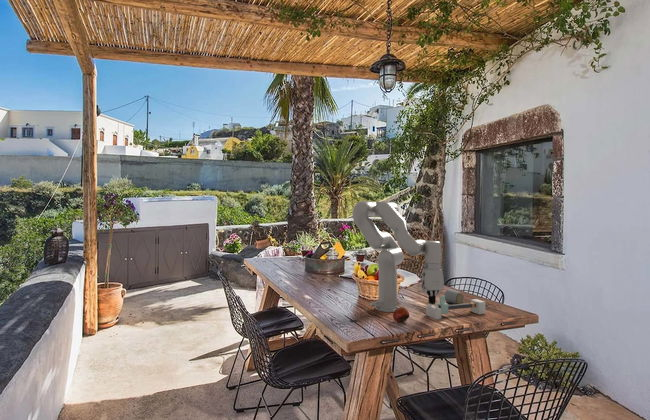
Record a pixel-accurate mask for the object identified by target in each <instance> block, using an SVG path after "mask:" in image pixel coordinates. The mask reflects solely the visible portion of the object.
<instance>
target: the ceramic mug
mask: <svg viewBox="0 0 650 420" xmlns="http://www.w3.org/2000/svg"><path fill="white" fill-rule="evenodd" d="M444 296H445V303H448V304H449V303H450V304H452V305H454V304H463V303H464V301H465V300H464V298H465V297H464V294H463V292H461V291H459V290H455V289H453V288H447V289H446V290H445V292H444Z"/></svg>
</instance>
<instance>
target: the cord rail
mask: <svg viewBox="0 0 650 420" xmlns="http://www.w3.org/2000/svg"><path fill="white" fill-rule="evenodd" d="M460 309H470V312H472V313H474V314H476V315H477V314H478V315H485V314H486V301H484V300H481V299H478V298H474V299H473V298H472V299H470V302H467V303H461V304H448V311H450V310H460ZM425 315H426V316H427V317H430V318H431V319H434V320H441V319H442V314H441V306H438V305H436V304H430V303H429V304H426V313H425Z"/></svg>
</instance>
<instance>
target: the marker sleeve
mask: <svg viewBox="0 0 650 420" xmlns="http://www.w3.org/2000/svg"><path fill="white" fill-rule="evenodd" d="M436 305H438V306H441V315H445V314H446V315H447V314H449V310H448V305H449V303H448V302H446V301H445V295H439V302H435V306H436Z"/></svg>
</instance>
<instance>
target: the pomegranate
mask: <svg viewBox="0 0 650 420" xmlns="http://www.w3.org/2000/svg"><path fill="white" fill-rule="evenodd" d="M399 307H400V306H399ZM396 308H397V307H396ZM392 313H393V314H392V318H393V320H394V321H395V322H396V323H404V325H407V324H406V321H407V320H408V319H409V318H410V312H409V311H408V310H407V309H406V308H405V307H403V306H402V307H400V308H397V309H396V310H395V311H394V312H392Z"/></svg>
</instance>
